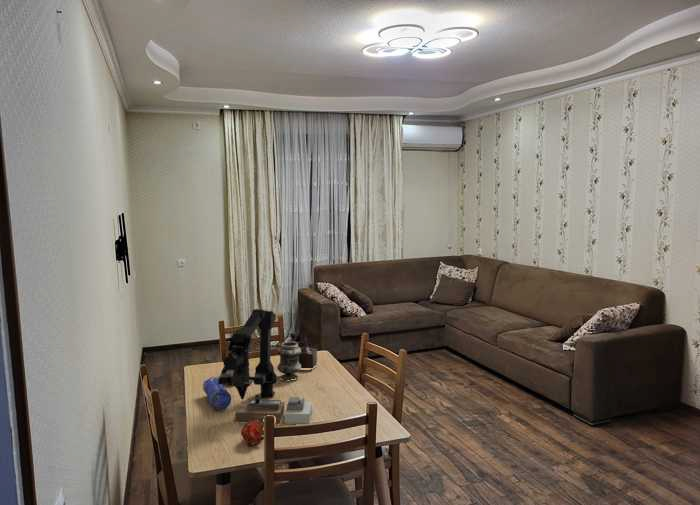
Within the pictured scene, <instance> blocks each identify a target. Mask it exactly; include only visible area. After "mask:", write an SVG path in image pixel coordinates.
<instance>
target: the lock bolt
mask: <svg viewBox="0 0 700 505" xmlns="http://www.w3.org/2000/svg"><path fill="white" fill-rule="evenodd" d="M254 400H255V401H251V403H252V404H279V407H280V401H261V400H262V397H261V394H260V393H256V394H254Z"/></svg>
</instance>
